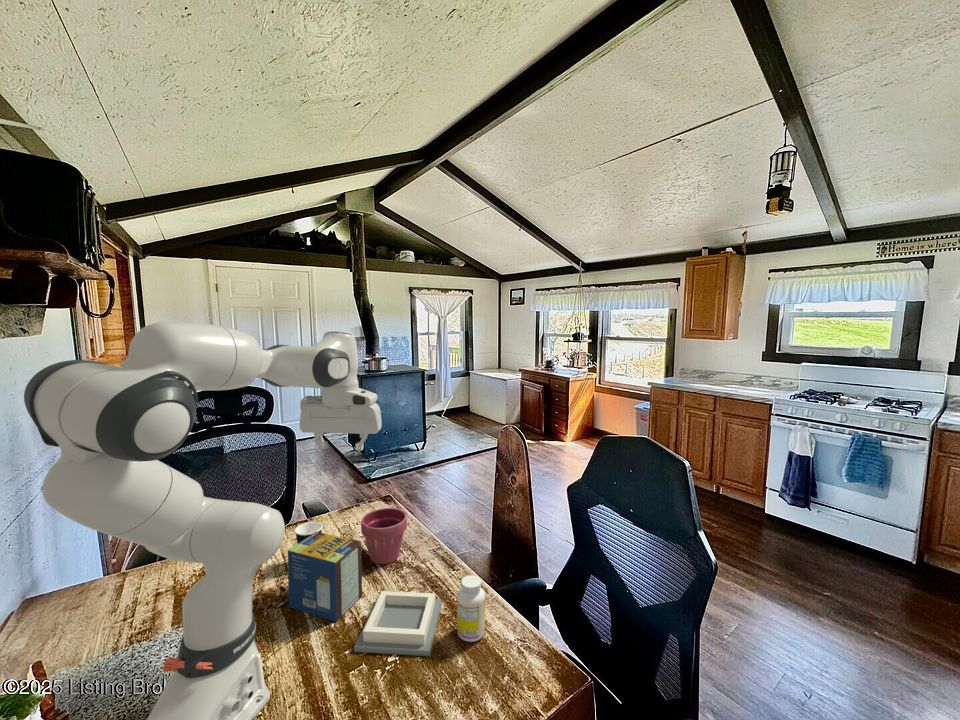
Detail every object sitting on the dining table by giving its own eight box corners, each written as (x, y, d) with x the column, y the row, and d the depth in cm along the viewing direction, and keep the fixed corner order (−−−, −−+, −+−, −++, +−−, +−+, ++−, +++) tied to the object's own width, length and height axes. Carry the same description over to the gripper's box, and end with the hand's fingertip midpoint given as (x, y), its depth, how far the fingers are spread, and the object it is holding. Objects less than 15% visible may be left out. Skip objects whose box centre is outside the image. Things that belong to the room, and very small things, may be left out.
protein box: (317, 583, 112) (316, 530, 111) (362, 596, 107) (362, 540, 106) (287, 607, 102) (286, 549, 101) (336, 623, 97) (335, 562, 96)
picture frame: (429, 656, 87) (429, 640, 87) (354, 651, 88) (354, 636, 88) (441, 603, 104) (441, 590, 104) (378, 600, 105) (378, 587, 105)
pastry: (254, 590, 109) (254, 578, 109) (296, 593, 108) (296, 581, 108) (237, 608, 102) (236, 595, 102) (281, 611, 101) (281, 598, 101)
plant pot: (358, 549, 129) (358, 511, 128) (401, 540, 135) (400, 504, 134) (365, 574, 116) (364, 532, 115) (412, 562, 122) (412, 522, 121)
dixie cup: (295, 572, 117) (294, 536, 116) (295, 558, 124) (294, 524, 123) (324, 566, 120) (323, 531, 119) (322, 552, 127) (321, 519, 127)
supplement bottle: (471, 618, 99) (472, 569, 98) (490, 632, 94) (491, 581, 93) (451, 632, 94) (451, 580, 93) (470, 648, 90) (470, 594, 89)
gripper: (293, 397, 97) (295, 452, 98) (376, 398, 97) (376, 454, 98) (306, 393, 104) (307, 445, 105) (383, 394, 103) (383, 446, 104)
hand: (341, 449), depth 101 cm, fingers open, 8 cm apart
